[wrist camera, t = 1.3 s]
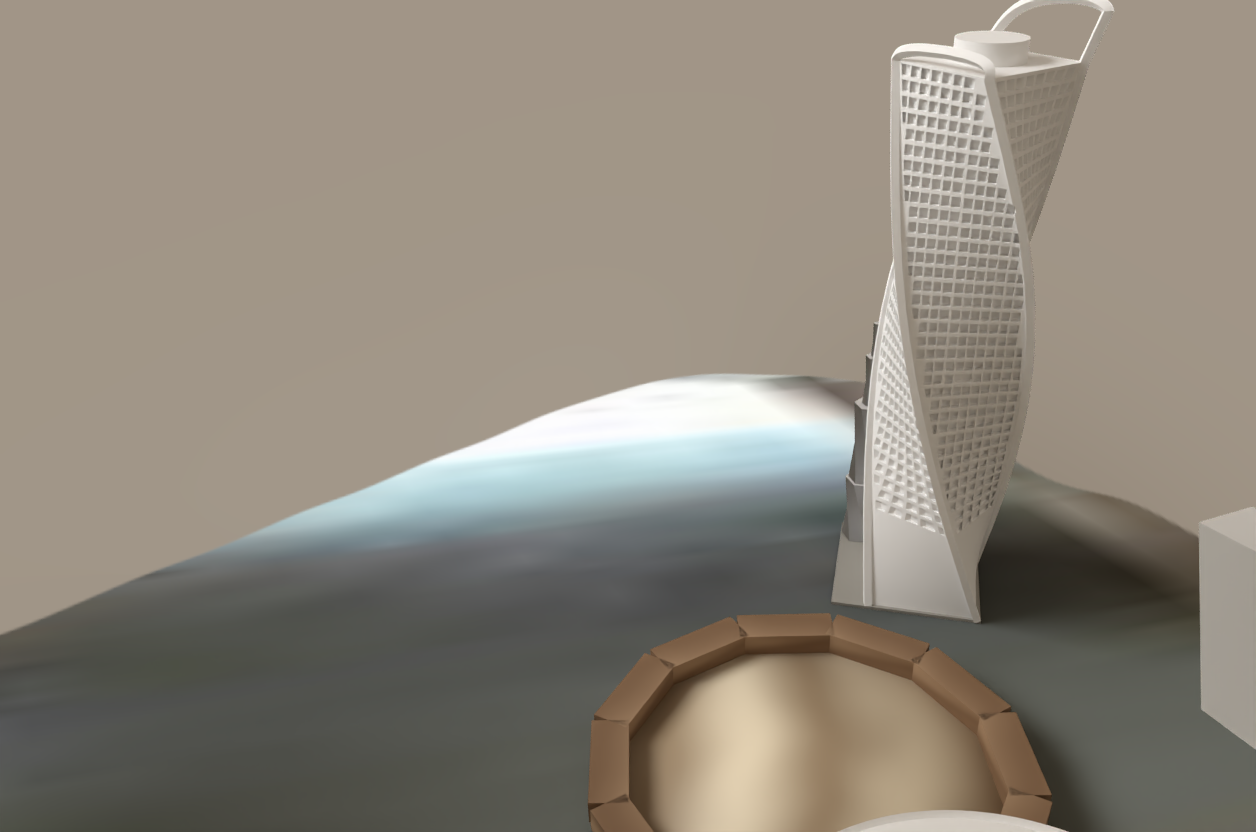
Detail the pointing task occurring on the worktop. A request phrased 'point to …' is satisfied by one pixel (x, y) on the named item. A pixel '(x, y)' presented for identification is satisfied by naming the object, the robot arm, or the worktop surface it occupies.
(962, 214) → the skyscraper
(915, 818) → the jar
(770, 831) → the coaster
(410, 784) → the worktop surface
